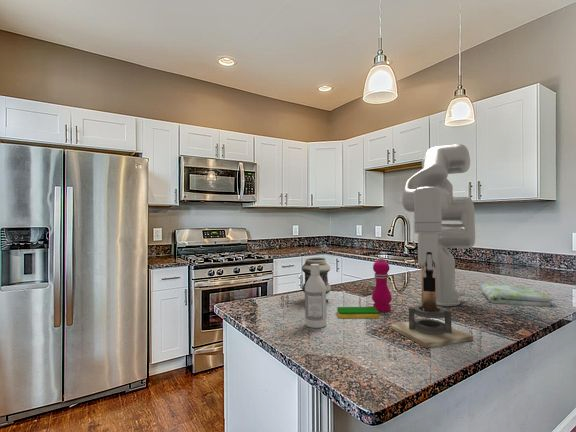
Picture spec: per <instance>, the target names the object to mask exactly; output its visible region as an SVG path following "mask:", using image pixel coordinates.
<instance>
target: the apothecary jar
mask: <svg viewBox="0 0 576 432" xmlns="http://www.w3.org/2000/svg"><path fill="white" fill-rule="evenodd" d="M311 264H319V275H320V277H321V278H322V280H323V282H324V284H325V287H326V295H327V294H329V293H330V292H331V290H332V287H331V284H329V280H328V279H329V278H328V273H329V272H330V270H331V266H330V265H329V263H327V259H326V257H325V258H324V257H308V258H306V259H305V262H304V264H303V265H302V267H301V270H302V272H303V273H304V283H303V284H302V286H301V289H302V292H303V293H304V294H305V285H306V282H307V281H308V279H309V277H310V276H311V268H310V265H311ZM328 303H329V299H327V298H326V304H328Z"/></svg>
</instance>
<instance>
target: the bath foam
mask: <svg viewBox="0 0 576 432" xmlns="http://www.w3.org/2000/svg"><path fill="white" fill-rule="evenodd" d="M310 268H311V276H310V277H309V279H308V281H307V282H306V285H305V293H304V317H305V319H304V320H305V322H304V323H305V326H307V327H308V328H312V329H321V328H324V327H326V326H327V303H326V299H327V294H326V287H325V284H324V282H323V280H322V278H321V277H320V275H319V264H311V265H310Z"/></svg>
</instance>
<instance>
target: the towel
mask: <svg viewBox="0 0 576 432" xmlns="http://www.w3.org/2000/svg"><path fill="white" fill-rule="evenodd" d="M479 289H480V291H481V293H482V294H483V295H484V296H485V297H486V298H487V300H488V301H489V302H491V303H492V304H502V305H515V306H516V305H517V306H530V307H546V308H547V307H550V306H551V302H552V301H553V299H552V297H551V295H549V294H548V293H546V292H545V291H543V290H541V289H538V288H536V287H532V286H521V285H520V286H519V285H511V284H503V283H496V282H495V283H494V282H485V283H482V284H480V285H479Z"/></svg>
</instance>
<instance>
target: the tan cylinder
mask: <svg viewBox="0 0 576 432" xmlns="http://www.w3.org/2000/svg"><path fill="white" fill-rule="evenodd" d="M434 264H435V263H434ZM425 267H427V265H425ZM432 267H433V265H432ZM420 268H421V269H420V270H421V271H420V273H421V277H420V278H421V305H422V311H427V312H437V307H436V306H437V305H436V267H435V266H434V278H435V292H429V291H424V290H423V277H424V266H421V267H420Z"/></svg>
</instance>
